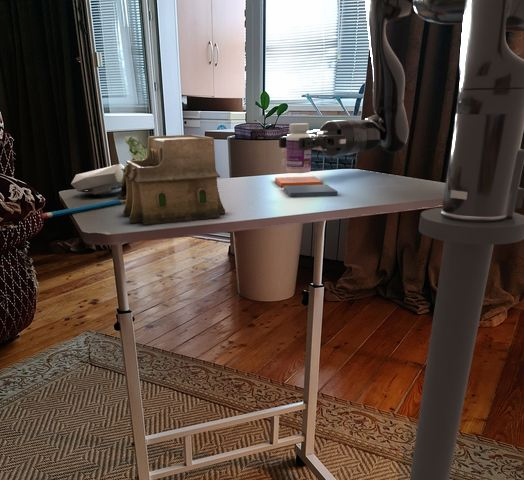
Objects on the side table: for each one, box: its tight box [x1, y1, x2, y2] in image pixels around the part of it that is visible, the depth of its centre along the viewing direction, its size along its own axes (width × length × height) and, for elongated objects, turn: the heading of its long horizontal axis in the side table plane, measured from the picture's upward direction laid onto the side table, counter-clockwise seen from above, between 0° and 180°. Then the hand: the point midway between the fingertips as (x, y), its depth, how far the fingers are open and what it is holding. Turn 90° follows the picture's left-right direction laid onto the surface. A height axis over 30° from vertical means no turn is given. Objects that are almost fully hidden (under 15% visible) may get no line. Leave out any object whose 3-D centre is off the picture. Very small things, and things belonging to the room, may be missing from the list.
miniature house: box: [122, 134, 226, 226], centre depth 79 cm, size 15×14×11 cm
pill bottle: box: [285, 122, 312, 174], centre depth 107 cm, size 5×5×10 cm
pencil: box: [40, 199, 126, 219], centre depth 85 cm, size 1×17×1 cm, turn 143°
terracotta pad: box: [274, 176, 324, 188], centre depth 110 cm, size 9×9×1 cm
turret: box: [70, 163, 126, 196], centre depth 103 cm, size 10×20×5 cm, turn 169°
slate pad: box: [283, 184, 338, 198], centre depth 98 cm, size 9×9×1 cm
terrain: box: [124, 135, 148, 160], centre depth 91 cm, size 15×9×2 cm
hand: (290, 143), depth 105 cm, fingers closed on pill bottle, 5 cm apart
